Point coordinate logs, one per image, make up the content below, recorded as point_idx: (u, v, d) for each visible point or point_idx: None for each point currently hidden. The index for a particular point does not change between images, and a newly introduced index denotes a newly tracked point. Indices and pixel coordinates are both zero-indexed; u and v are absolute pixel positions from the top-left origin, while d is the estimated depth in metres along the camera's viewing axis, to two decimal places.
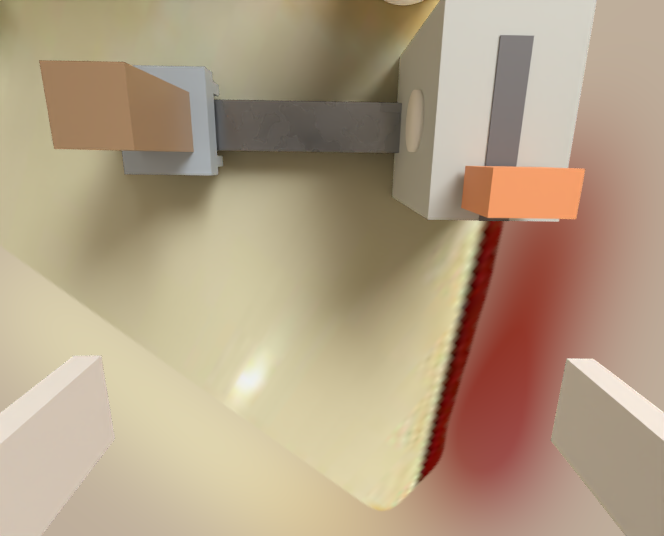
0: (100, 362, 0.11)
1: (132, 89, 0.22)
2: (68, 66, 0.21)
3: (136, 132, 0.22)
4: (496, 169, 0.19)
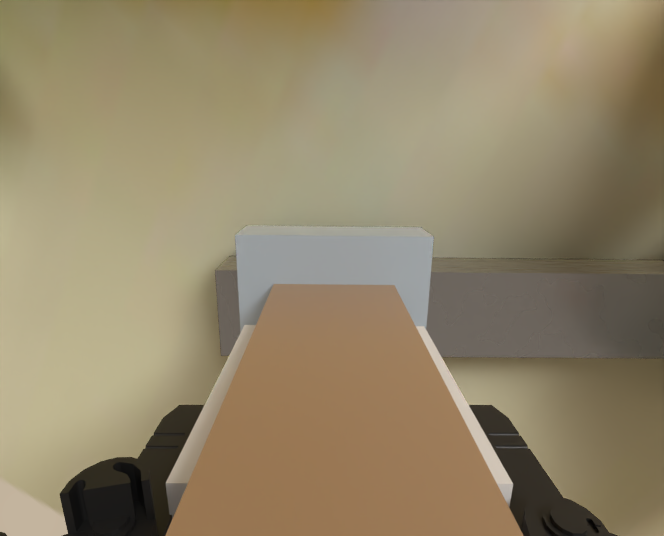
0: None
1: None
2: None
3: None
4: None
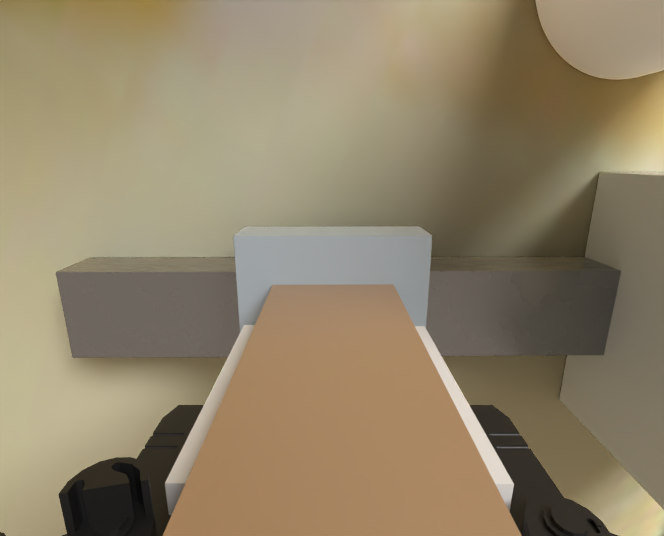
0: None
1: None
2: None
3: None
4: None
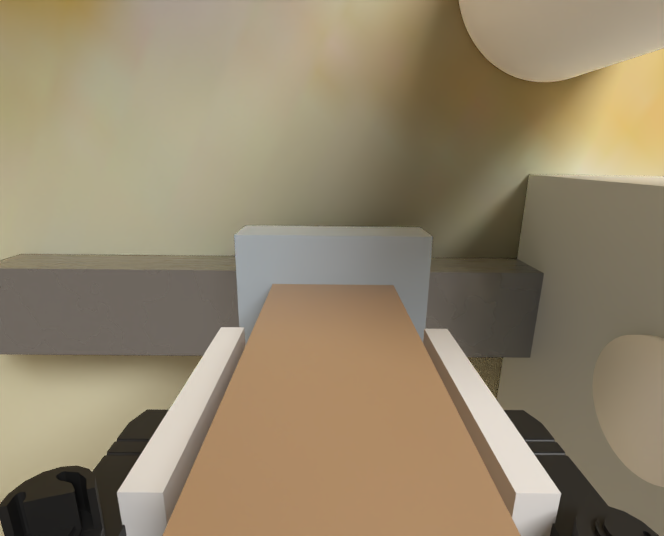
0: (244, 333, 0.13)
1: None
2: None
3: None
4: None
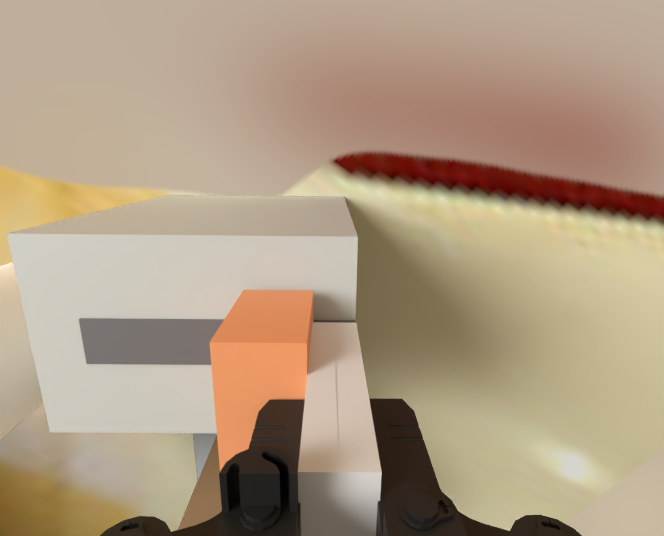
0: None
1: None
2: None
3: None
4: None
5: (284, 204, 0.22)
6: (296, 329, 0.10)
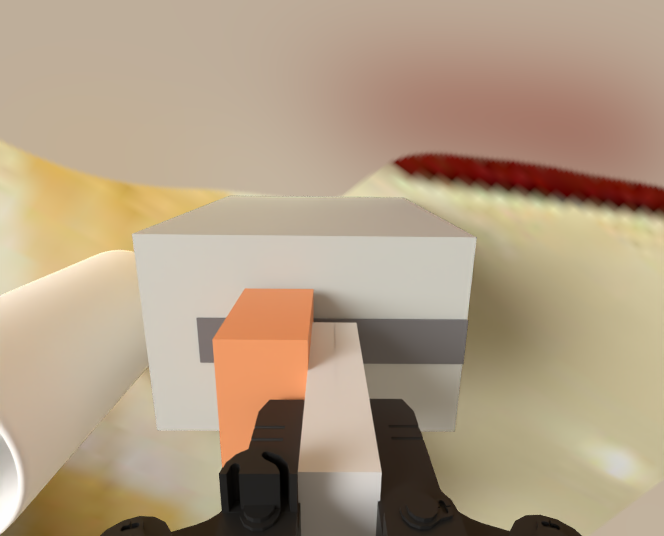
0: None
1: None
2: None
3: None
4: None
5: (357, 205, 0.23)
6: (297, 327, 0.11)
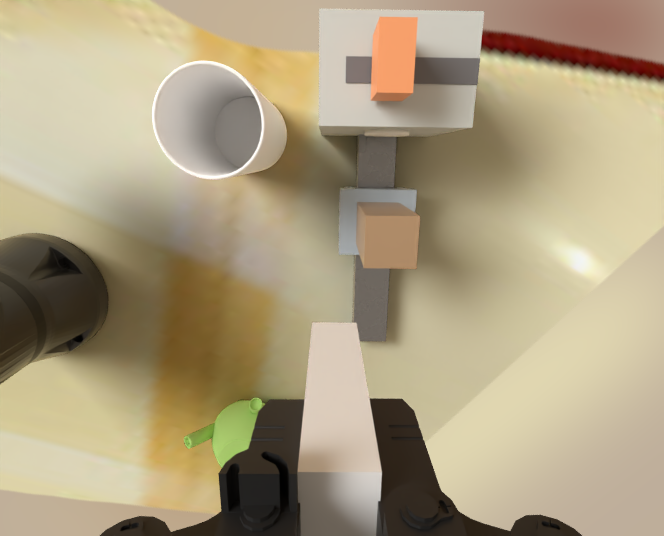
0: None
1: (379, 214, 0.32)
2: (367, 251, 0.33)
3: (407, 215, 0.32)
4: (378, 90, 0.26)
5: None
6: None
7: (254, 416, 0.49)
